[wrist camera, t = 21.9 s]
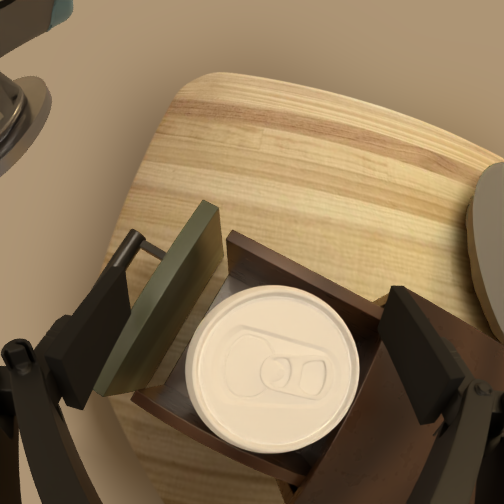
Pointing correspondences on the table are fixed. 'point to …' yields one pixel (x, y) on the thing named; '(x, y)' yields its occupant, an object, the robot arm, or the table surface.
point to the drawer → (179, 306)
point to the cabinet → (389, 424)
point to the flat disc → (488, 245)
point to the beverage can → (272, 369)
